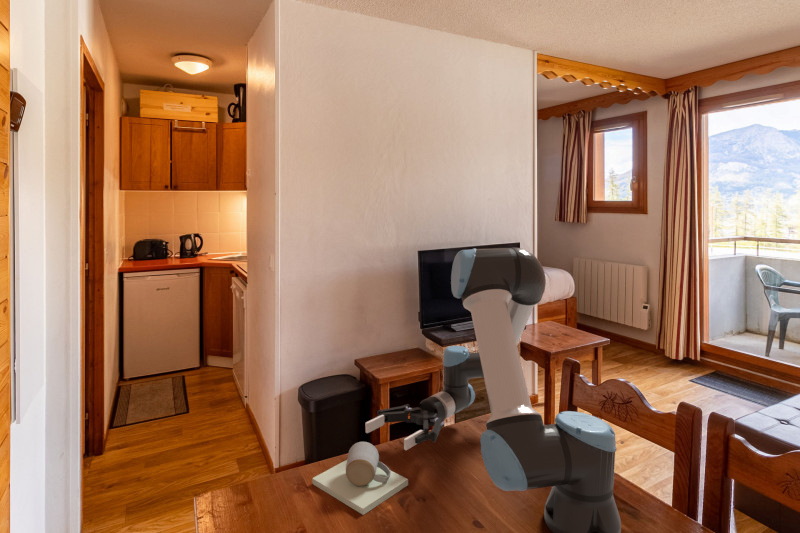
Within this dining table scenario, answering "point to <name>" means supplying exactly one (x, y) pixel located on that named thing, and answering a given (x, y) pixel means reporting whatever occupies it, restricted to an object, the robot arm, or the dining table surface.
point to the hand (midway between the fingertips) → (384, 436)
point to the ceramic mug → (364, 465)
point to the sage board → (358, 488)
